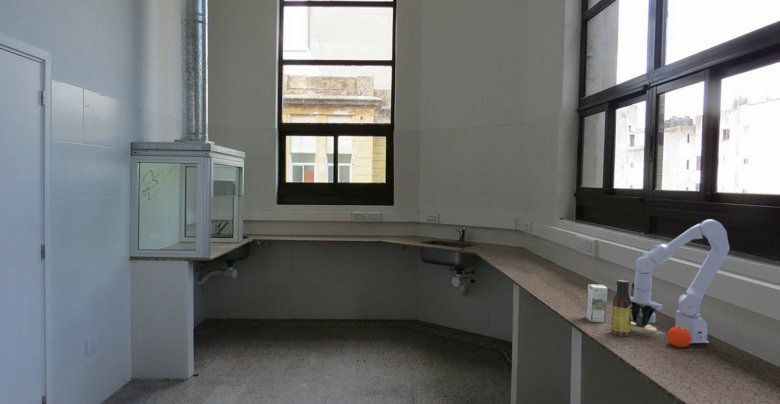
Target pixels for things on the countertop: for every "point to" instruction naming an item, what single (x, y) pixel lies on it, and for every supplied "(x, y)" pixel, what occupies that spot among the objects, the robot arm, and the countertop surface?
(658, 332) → the mat
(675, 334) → the clementine
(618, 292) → the sauce bottle
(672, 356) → the countertop surface
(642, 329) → the lid
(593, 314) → the syrup box
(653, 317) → the bowl
